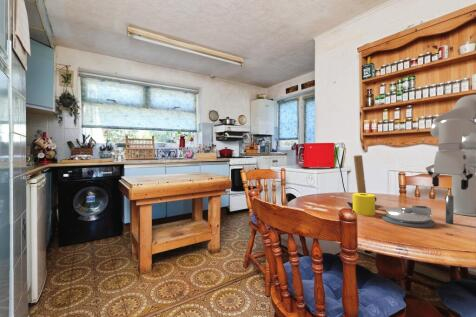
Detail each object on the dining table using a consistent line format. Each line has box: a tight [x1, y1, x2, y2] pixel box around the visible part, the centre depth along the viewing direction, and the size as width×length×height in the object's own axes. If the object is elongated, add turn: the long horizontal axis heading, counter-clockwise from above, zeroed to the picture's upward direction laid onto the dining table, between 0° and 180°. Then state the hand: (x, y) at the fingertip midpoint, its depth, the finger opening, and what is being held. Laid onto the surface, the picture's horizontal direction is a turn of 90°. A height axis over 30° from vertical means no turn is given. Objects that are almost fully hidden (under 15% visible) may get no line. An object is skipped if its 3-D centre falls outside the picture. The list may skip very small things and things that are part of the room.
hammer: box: [346, 154, 378, 209], centre depth 130 cm, size 20×5×30 cm, turn 120°
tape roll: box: [352, 192, 376, 217], centre depth 118 cm, size 10×10×9 cm
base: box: [381, 213, 436, 229], centre depth 104 cm, size 19×19×1 cm
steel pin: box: [445, 194, 454, 225], centre depth 100 cm, size 2×2×12 cm
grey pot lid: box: [385, 204, 432, 224], centre depth 104 cm, size 16×16×6 cm
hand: (449, 187), depth 99 cm, fingers open, 9 cm apart
